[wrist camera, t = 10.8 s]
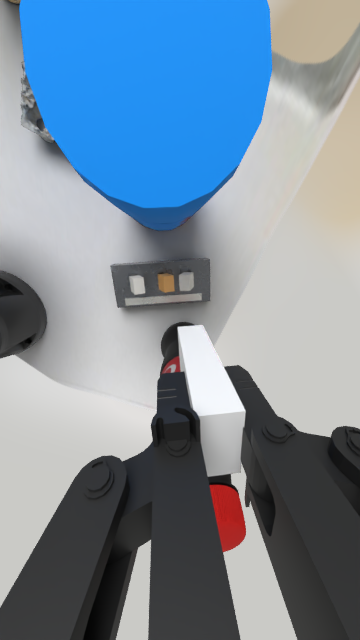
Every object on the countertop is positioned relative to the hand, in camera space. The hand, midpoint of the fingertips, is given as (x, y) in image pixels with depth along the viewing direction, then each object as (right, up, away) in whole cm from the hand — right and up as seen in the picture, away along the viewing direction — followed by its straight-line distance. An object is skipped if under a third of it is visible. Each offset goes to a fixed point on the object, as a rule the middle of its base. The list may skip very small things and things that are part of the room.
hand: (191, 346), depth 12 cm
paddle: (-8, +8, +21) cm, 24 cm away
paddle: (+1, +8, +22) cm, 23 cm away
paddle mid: (-4, +8, +22) cm, 23 cm away
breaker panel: (-4, +8, +24) cm, 26 cm away
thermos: (-4, +21, +20) cm, 29 cm away
